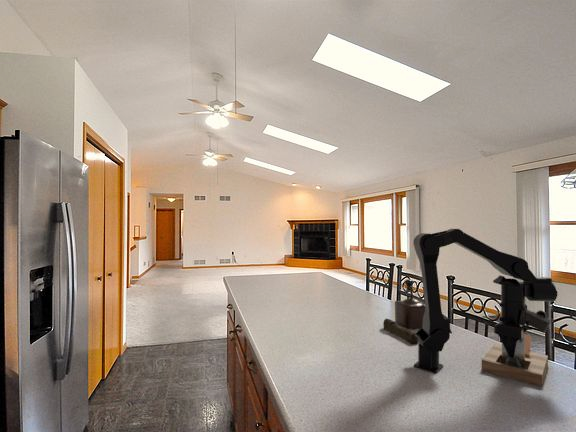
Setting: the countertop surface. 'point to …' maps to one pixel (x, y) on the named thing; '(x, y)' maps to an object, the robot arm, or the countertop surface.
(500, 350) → the hole plate
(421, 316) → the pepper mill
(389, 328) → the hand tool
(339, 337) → the countertop surface
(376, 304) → the countertop surface
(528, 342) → the pink flat plate
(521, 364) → the peg
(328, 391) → the countertop surface
